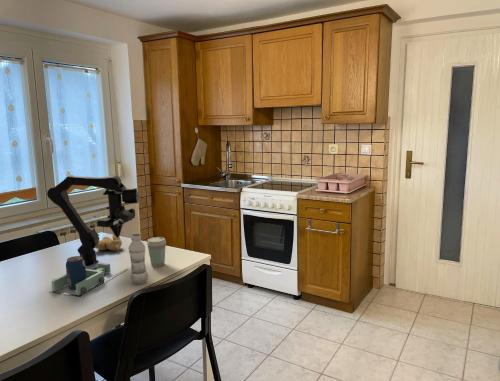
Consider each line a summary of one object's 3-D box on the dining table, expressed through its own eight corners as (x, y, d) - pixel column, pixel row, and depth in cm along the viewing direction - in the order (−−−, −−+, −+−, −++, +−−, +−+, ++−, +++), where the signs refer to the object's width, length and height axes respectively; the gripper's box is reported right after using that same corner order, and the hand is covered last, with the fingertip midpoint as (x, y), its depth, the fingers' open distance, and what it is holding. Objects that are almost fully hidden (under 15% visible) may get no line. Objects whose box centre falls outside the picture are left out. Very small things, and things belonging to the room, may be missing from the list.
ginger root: (112, 253, 191) (108, 237, 190) (88, 257, 197) (84, 242, 196) (133, 245, 205) (129, 230, 205) (109, 249, 211) (106, 234, 211)
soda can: (90, 284, 158) (87, 255, 156) (81, 291, 151) (78, 261, 149) (74, 283, 159) (71, 255, 157) (64, 290, 152) (61, 261, 150)
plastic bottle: (139, 287, 154) (135, 238, 151) (127, 284, 158) (123, 236, 154) (151, 281, 159) (148, 234, 156) (139, 278, 163) (136, 232, 159)
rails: (48, 292, 151) (48, 291, 151) (100, 265, 178) (100, 265, 178) (79, 297, 146) (79, 296, 146) (127, 269, 173) (127, 269, 173)
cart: (50, 290, 152) (49, 280, 151) (91, 269, 173) (91, 260, 172) (81, 295, 147) (80, 285, 146) (120, 272, 168) (119, 264, 167)
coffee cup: (162, 268, 173) (161, 242, 171) (144, 267, 175) (143, 241, 173) (170, 262, 182) (169, 237, 180) (153, 261, 183) (151, 236, 181)
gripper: (114, 209, 166) (117, 245, 169) (142, 201, 183) (144, 233, 186) (94, 207, 171) (97, 242, 173) (123, 199, 187) (126, 231, 190)
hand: (117, 237), depth 181 cm, fingers closed
